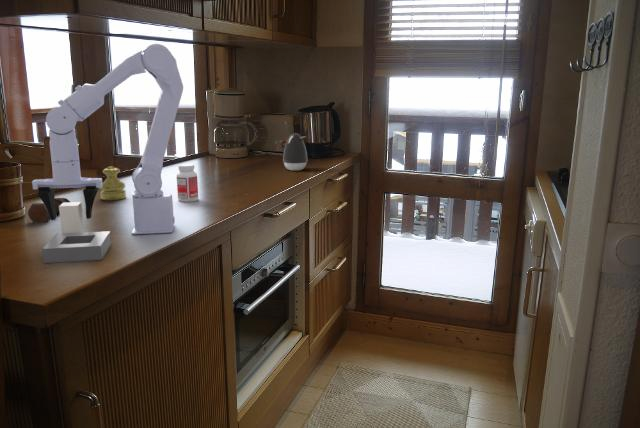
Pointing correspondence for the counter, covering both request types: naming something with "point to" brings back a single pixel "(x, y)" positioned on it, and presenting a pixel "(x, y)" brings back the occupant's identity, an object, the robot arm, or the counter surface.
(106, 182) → the yellow chess piece
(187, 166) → the pill bottle
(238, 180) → the counter surface
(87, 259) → the socket block
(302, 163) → the pump dispenser
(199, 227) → the counter surface
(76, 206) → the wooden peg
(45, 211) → the bolt
